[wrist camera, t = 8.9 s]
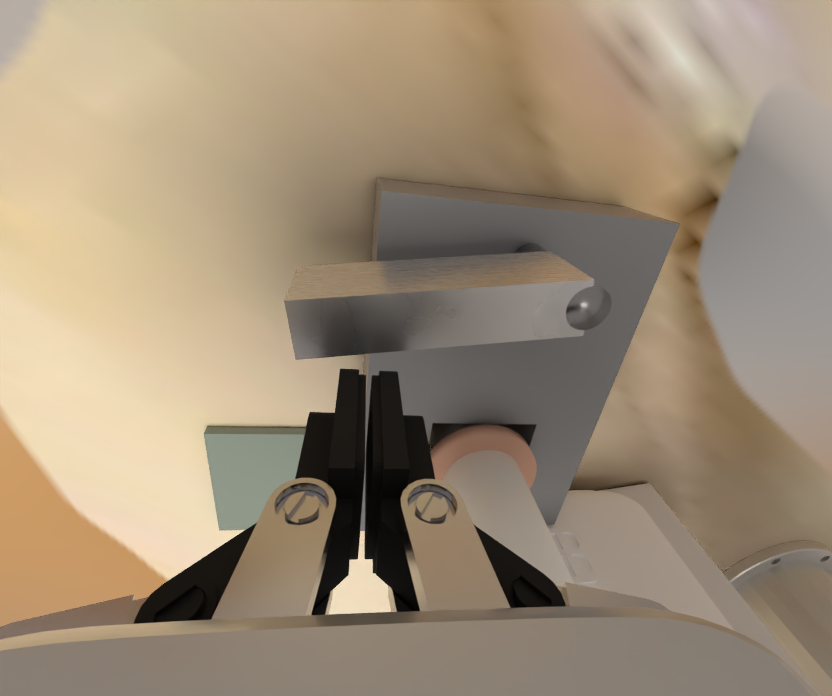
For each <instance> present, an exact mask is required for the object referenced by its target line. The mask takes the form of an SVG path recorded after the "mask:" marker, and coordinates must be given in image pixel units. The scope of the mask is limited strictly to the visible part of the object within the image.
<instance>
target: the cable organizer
mask: <svg viewBox="0 0 832 696" xmlns="http://www.w3.org/2000/svg"><path fill="white" fill-rule="evenodd" d="M547 527H548V529H549V531H550V533H551V535H552V537H553V540H554V542H555V544H556V546H557V548H558V550H559V552H560V554H561V556H562V558H563V561H564V563H565V565H566V567H567V569H568V571H569V573H570V575H571V577H572V580H573V582H574V584H578V585H582V586H587V587H592V588H597V589H602V590H607V591H612V592H617V593H621V594H626V595H631V596H636V597H641V598H646V599H649V600H652V601H655V602H658V603H660V604H662V605H663V606H664V607H666V608H667V609H669V610H670V611H672V612H677V613H681V614H686V615H690V616H694V617H698V618H701V619H704V620H707V621H710V622H713V623H715V624H718V625H721V626H724V627H727V628H729V629H731V630H733V631H734V629H733V628H732V627H731V625H730V624H729V623H728V621H727V620H726V619H725V617H724V616H723V614H722V613H721V612H720V610H719V609H718V608H717V606H716V605H715V604H714V602H713V601H712V600H711V598H710V597H709V596H708V594H707V593H706V592H705V590H704V589H703V587H702V586H701V585H700V583H699V582H698V581H697V579H696V578H695V577H694V575H693V574H692V573H691V571H690V570H689V569H688V567H687V566H686V564H685V563H684V562H683V560H682V559H681V558H680V556H679V555H678V554H677V552H676V551H675V550H674V548H673V547H672V546H671V544H670V543H669V541H668V540H667V539H666V537H665V536H664V535H663V533H662V532H661V531H660V529H659V528H658V527H657V525H656V524H655V523H654V521H653V520H652V518H651V517H650V516H649V514H648V513H647V512H646V510H645V509H644V508H643V507H642V506H641V505H640V504H638V503H637V502H636V501H634V500H632V499H630V498H628V497H626V496H624V495H621V494H618V493H614V492H609V491H593V490H574V491H568V493H567V496H566V498H565V500H564V503H563V505H562V508H561V510H560V512H559V515H558V517H557V520H556V522H555V524H553V525H547Z"/></svg>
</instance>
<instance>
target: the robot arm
mask: <svg viewBox="0 0 832 696" xmlns="http://www.w3.org/2000/svg"><path fill="white" fill-rule="evenodd" d="M365 424H366V375H359V370H356V369H340V375H339V384H338V392H337V400H336V408H335V413H321V412H310V413H309V417H308V421H307V426H306V431H305V435H304V440H303V445H302V449H301V454H300V459H299V463H298V468H297V473H296V477H295V479H294V480H290V481H288V482H286V483H284V484H282V485H280V486H279V487H278V488H277V489H275V490H274V491H273V493H272V494H271V496H270V497H269V499H268V501H267V503H266V505H265V507H264V509H263V511H262V513H261V515H260V518H259V520H258V522H257V523H255V524H254V525H252V526H251V527H249V528H248V529H246V530H245V531H243V532H242V533H240V534H239V535H237V536H236V537H234V538H233V539H231V540H229V541H228V542H226V543H225V544H223V545H222V546H220V547H219V548H217V549H216V550H214V551H213V552H211V553H210V554H208V555H207V556H205V557H204V558H202V559H201V560H199V561H198V562H196V563H195V564H193V565H192V566H190V567H189V568H187V569H185V570H184V571H182V572H181V573H179V574H178V575H176V576H175V577H173V578H172V579H170V580H169V581H167V582H166V583H164V584H163V585H162V586H160V587H159V588H158V589H157V590H155V591H154V592H153V593H152V594H151V595H150V596H149V597H147V598H143V599H139V600H135V597H134V595H130V596H126V597H122V598H117V599H113V600H109V601H104V602H100V603H96V604H91V605H87V606H83V607H79V608H74V609H70V610H65V611H61V612H57V613H52V614H48V615H44V616H40V617H35V618H31V619H26V620H22V621H18V622H14V623H10V624H7V625H5V626H2V627H0V696H819V695H818V694H817V693H816V692H815V691H814V690H813V689H812V688H811V687H810V686H809V685H808V684H807V683H806V682H805V681H804V680H803V679H802V678H801V677H800V676H799V675H798V674H797V673H796V672H795V671H794V670H793V669H792V668H791V667H790V666H789V665H788V664H786V663H785V662H784V661H783V660H782V659H781V658H779V657H778V656H777V655H776V654H775V653H773V652H772V651H770V650H769V649H767V648H766V647H764V646H763V645H761V644H760V643H758V642H756V641H754V640H752V639H750V638H748V637H746V636H745V635H742V634H740V633H738V632H736V631H733V630H731V629H729V628H727V627H724V626H721V625H718V624H715V623H713V622H710V621H707V620H704V619H701V618H698V617H694V616H690V615H686V614H681V613H677V612H672V611H670V610H669V609H667V608H666V607H664V606H663V605H662V604H660V603H658V602H655V601H652V600H649V599H646V598H641V597H636V596H631V595H626V594H621V593H617V592H612V591H607V590H602V589H597V588H592V587H587V586H582V585H578V584H573V583H568V582H565V583H564V585H563V587H562V586H557V585H555V584H554V582H553V581H552V580H550V579H549V578H548V577H547V576H546V575H545V574H543V573H542V572H541V571H539V570H538V569H536V568H535V567H534V566H532V565H531V564H529V563H528V562H526V561H525V560H524V559H522V558H521V557H519V556H518V555H516V554H515V553H514V552H512V551H511V550H509V549H508V548H506V547H505V546H504V545H502V544H501V543H499V542H498V541H497V540H495V539H494V538H492V537H491V536H489V535H488V534H487V533H485V532H484V531H482V530H481V529H479V528H478V527H477V526H475V525H474V524H473V522H472V519H471V517H470V515H469V513H468V510H467V508H466V506H465V504H464V501H463V499H462V498H461V496H460V494H459V493H458V492H457V491H456V490H455V489H454V488H453V487H452V486H450V485H449V484H447V483H445V482H443V481H439V480H435V475H434V469H433V464H432V459H431V454H430V449H429V444H428V439H427V433H426V428H425V423H424V419H423V416H413V415H403V409H402V401H401V393H400V385H399V377H398V372H397V371H379V375H372V378H371V391H370V403H369V416H368V429H367V441H366V465H365ZM364 474H365V559H373V573H376V575H377V576H378V577H379V578H381V579H382V580H383V581H384V582H385V583H386V584H387V585H388V596H389V601H390V607H391V612H383V613H358V614H332V615H328V614H329V610H330V605H331V601H332V592H333V589H334V588H335V587H336V586H337V585H338V584H339V583H340V582H341V581H342V580H343V579H344V578H346V577H347V576H348V573H349V559H358V550H359V537H360V525H361V512H362V500H363V487H364ZM723 574H724V575H725V577H726V578H727V579H728V580H729V582H730V583H731V584H732V585H733V587H734V588H735V589H736V590H737V591H738V593H739V594H740V595H741V596H742V598H743V599H744V600H745V601H746V603H747V604H748V605H749V606H750V608H751V609H752V610H753V611H754V612H755V614H756V615H757V616H758V617H759V619H760V620H761V621H762V622H763V624H764V625H765V626H766V627H767V629H768V630H769V631H770V632H771V634H772V635H773V636H774V637H775V638H776V640H777V641H778V642H779V643H780V645H781V646H782V647H783V648H784V650H785V651H786V652H787V653H788V655H789V656H790V657H791V658H792V660H793V661H794V662H795V663H796V664H797V666H798V667H799V668H800V669H801V671H802V672H803V673H804V674H805V676H806V677H807V678H808V679H809V681H810V682H811V683H812V684H813V685H814V687H815V688H816V689H817V690H818V692H819V693H820V694H821V695H822V696H832V552H831V551H829V550H828V549H827V548H826V547H825V546H824V545H822V544H820V543H817V542H813V541H793V542H788V543H783V544H779V545H776V546H772V547H769V548H767V549H764V550H761V551H759V552H757V553H755V554H753V555H751V556H748V557H746V558H745V559H743V560H741V561H740V562H738V563H736V564H735V565H733V566H732V567H730V568H729V569H728V570H726V571H725V572H724V573H723Z"/></svg>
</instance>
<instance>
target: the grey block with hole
mask: <svg viewBox="0 0 832 696" xmlns="http://www.w3.org/2000/svg"><path fill="white" fill-rule="evenodd" d="M679 225H680V224H679V223H676V222H672V221H669V220H666V219H663V218H659V217H656V216H653V215H650V214H646V213H643V212H640V211H637V210H633V209H630V208H627V207H624V206H616V205H608V204H599V203H590V202H582V201H573V200H564V199H556V198H547V197H538V196H530V195H521V194H512V193H504V192H495V191H486V190H478V189H469V188H460V187H452V186H443V185H435V184H426V183H417V182H409V181H400V180H391V179H383V178H377V182H376V196H375V210H374V225H373V239H372V253H371V262H374V261H391V260H408V259H424V258H441V257H458V256H475V255H491V254H508V253H515V252H516V251H517V250H518V249H519V248H520V247H521V246H523V245H526V244H530V243H532V244H537V245H539V246H541V247H542V248H544V249H545V250H547V251H551V252H553V253H554V254H556V255H557V256H559V257H560V258H562V259H564V260H565V261H567V262H568V263H570V264H571V265H573V266H574V267H576V268H577V269H579V270H580V271H582V272H583V273H585V274H587V275H588V276H590V277H591V278H593V279H594V282H595V283H596V284H598V285H599V286H601V287H602V288H604V289H605V290H607V291H608V293H609V294H610V296H611V301H612V304H611V309H610V312H609V314H608V315H607V317H606V318H605V319H604V321H603V322H601V323H600V324H599V325H597V326H596V327H594V328H591V329H588V330H584V334H583V336H577V337H565V338H553V339H541V340H529V341H516V342H504V343H492V344H480V345H468V346H456V347H444V348H432V349H420V350H407V351H395V352H383V353H371V354H364V369H363V375H366V424H365V465H366V441H367V429H368V416H369V403H370V391H371V378H372V375H379V371H397V372H398V377H399V385H400V393H401V401H402V409H403V415H413V416H423V419H424V423H425V428H426V433H427V439H428V444H429V441H430V436H431V430H432V424H433V423H460V424H499V426H504V427H507V428H510V429H512V430H514V431H515V432H517V433H518V434H520V435H521V436H522V437H523V438H524V439H525V441H526V442H527V444H528V446H529V447H530V449H531V451H532V453H533V455H534V457H535V460H536V464H537V472H536V477H535V480H534V482H533V485H532V486H531V488H530V491H531V493H532V495H533V497H534V499H535V502H536V504H537V506H538V508H539V510H540V512H541V514H542V516H543V518H544V521H545V523H546V525H553V524H555V522H556V520H557V517H558V515H559V512H560V510H561V508H562V505H563V503H564V500H565V498H566V496H567V493H568V491H569V488H570V486H571V484H572V481H573V479H574V476H575V474H576V472H577V469H578V467H579V464H580V462H581V460H582V457H583V455H584V452H585V450H586V448H587V445H588V443H589V440H590V438H591V436H592V433H593V431H594V428H595V426H596V424H597V421H598V419H599V416H600V414H601V412H602V409H603V407H604V404H605V402H606V400H607V397H608V395H609V392H610V390H611V388H612V385H613V383H614V380H615V378H616V376H617V373H618V371H619V368H620V366H621V364H622V361H623V359H624V356H625V354H626V352H627V349H628V347H629V344H630V342H631V340H632V337H633V335H634V332H635V330H636V328H637V325H638V323H639V320H640V318H641V316H642V313H643V311H644V308H645V306H646V304H647V301H648V299H649V296H650V294H651V292H652V289H653V287H654V284H655V282H656V280H657V277H658V275H659V272H660V270H661V268H662V265H663V263H664V261H665V258H666V256H667V253H668V251H669V249H670V246H671V244H672V241H673V239H674V237H675V234H676V232H677V229H678V227H679ZM430 451H431V450H430ZM360 531H365V474H364V487H363V500H362V512H361V525H360Z"/></svg>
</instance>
